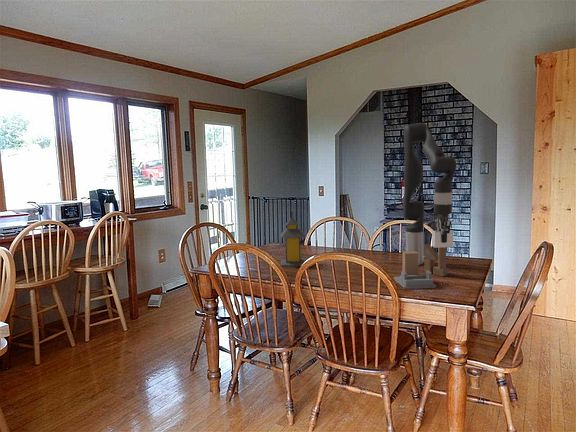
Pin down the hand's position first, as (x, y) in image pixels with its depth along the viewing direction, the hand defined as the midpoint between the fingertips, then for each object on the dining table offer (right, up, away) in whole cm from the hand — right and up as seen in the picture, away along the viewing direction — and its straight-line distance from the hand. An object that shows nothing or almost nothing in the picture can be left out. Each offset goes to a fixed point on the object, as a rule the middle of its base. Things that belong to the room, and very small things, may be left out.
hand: (442, 241), depth 196 cm
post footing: (-11, -19, +5) cm, 23 cm away
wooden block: (+4, -17, +19) cm, 26 cm away
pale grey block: (0, -2, 0) cm, 2 cm away
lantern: (-65, -15, +51) cm, 84 cm away
